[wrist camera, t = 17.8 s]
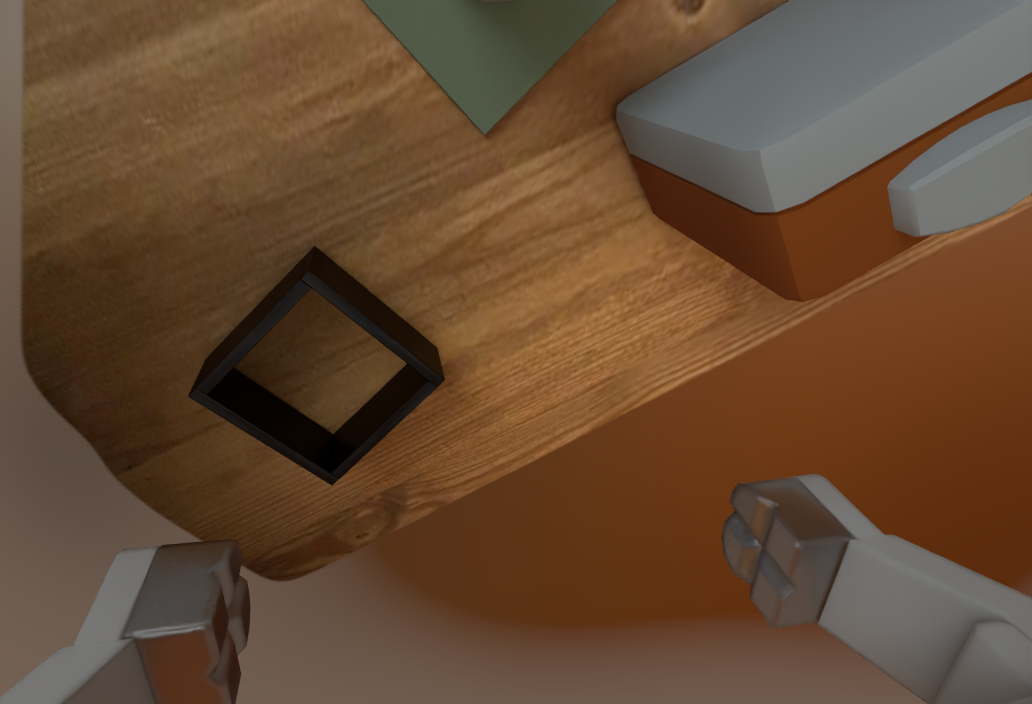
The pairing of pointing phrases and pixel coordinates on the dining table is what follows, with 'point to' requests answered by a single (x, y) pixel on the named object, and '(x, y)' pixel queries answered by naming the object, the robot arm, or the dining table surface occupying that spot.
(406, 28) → the mat
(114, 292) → the dining table surface
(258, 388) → the frame
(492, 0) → the can
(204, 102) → the dining table surface
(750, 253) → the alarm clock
